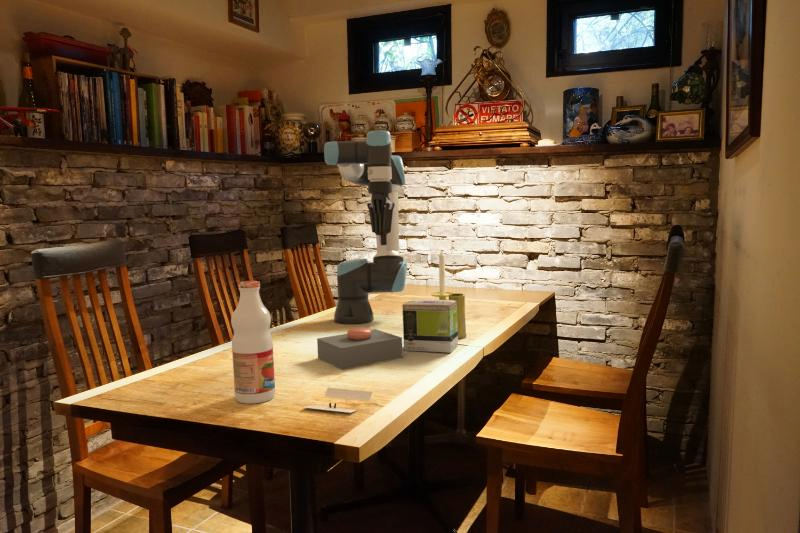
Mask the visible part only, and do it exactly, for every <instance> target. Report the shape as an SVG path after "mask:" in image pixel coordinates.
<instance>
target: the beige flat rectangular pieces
mask: <svg viewBox="0 0 800 533" xmlns="http://www.w3.org/2000/svg"><path fill="white" fill-rule="evenodd" d="M372 394H373V391H369V390H368V391H367V390H359V389H358V390H357V389H347V388H335V387H327V388H326V390H325V394H324V397H327V398H338V399H349V400H356V401H358V400H359V401H366V402H367V401H368V402H370V401H371V398H372ZM302 408H303V409H304V408H305V409H312V410H313V409H314V410H322V411H332V412H339V413H340V412H341V413H354V412H356V411H357V409H351V408H349V409H347V408H340V407H339V408H338V407H337V402H335V403H334V405H333V407H332V402H331V401H329V403H328V406H320V405H307V406H303V407H302Z"/></svg>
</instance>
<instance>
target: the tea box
mask: <svg viewBox="0 0 800 533" xmlns="http://www.w3.org/2000/svg"><path fill="white" fill-rule="evenodd" d="M402 330H403V332H402V333H403V337H402V339H403V350H404V351H409V352H410V351H411V352H412V351H413V352H431V353H445V354H446V353H449V354H450V353H453V351H454V350H455V349H456V348H457V347H458V345H459V339H458V323H457V300H449V299H446V300H439V299H410V300H408V301H407V302H405V303H402Z"/></svg>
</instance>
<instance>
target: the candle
mask: <svg viewBox="0 0 800 533" xmlns="http://www.w3.org/2000/svg"><path fill="white" fill-rule="evenodd" d="M445 258H446V255H445V254H444V252H443V249H441V251H440V254H439V255H438V260H439V261H438V266H439V267H438V268H439V270H438V274H439V277H438V278H439V279H438V280H439V292H433V293H431V296H432V297H435V298H436V297H439V298H438V300H447V298H449V294H454V293H455V292H454V293H453V292H448V291H447V292H446V260H445Z"/></svg>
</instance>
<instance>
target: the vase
mask: <svg viewBox="0 0 800 533" xmlns="http://www.w3.org/2000/svg"><path fill="white" fill-rule="evenodd" d="M465 298H466V297H465V293H458V292H457V293H455V292H454V294H449V296H448V300H457V323H458V340H460V339H461V340H462V339H465V338H467V330H466V329H467V328H466V326H467V325H466V310H465V307H466V305H465V304H466V303H465V300H466V299H465Z"/></svg>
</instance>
